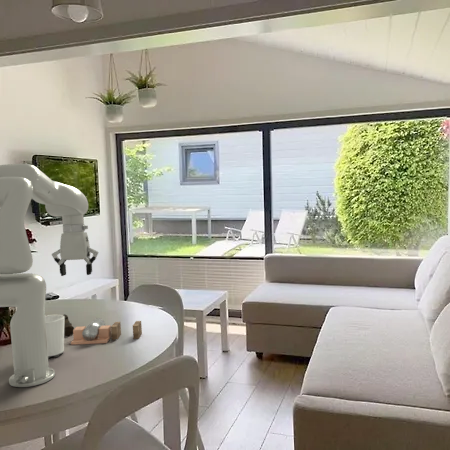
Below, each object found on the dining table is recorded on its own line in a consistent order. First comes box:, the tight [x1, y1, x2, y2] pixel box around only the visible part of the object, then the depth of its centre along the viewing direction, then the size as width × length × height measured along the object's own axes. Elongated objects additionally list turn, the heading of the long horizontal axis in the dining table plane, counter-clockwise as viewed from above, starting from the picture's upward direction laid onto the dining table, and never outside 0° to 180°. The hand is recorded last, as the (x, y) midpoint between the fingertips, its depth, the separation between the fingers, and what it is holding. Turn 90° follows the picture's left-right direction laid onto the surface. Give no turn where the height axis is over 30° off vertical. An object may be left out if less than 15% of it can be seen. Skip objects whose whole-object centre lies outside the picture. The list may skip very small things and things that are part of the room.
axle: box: [82, 317, 106, 341], centre depth 172 cm, size 12×5×5 cm, turn 179°
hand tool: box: [62, 314, 75, 337], centre depth 185 cm, size 19×4×5 cm, turn 22°
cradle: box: [70, 324, 112, 345], centre depth 171 cm, size 10×13×4 cm
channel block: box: [111, 320, 143, 341], centre depth 172 cm, size 6×10×5 cm, turn 89°
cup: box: [45, 314, 65, 359], centre depth 155 cm, size 10×10×13 cm
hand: (76, 274), depth 171 cm, fingers open, 9 cm apart
